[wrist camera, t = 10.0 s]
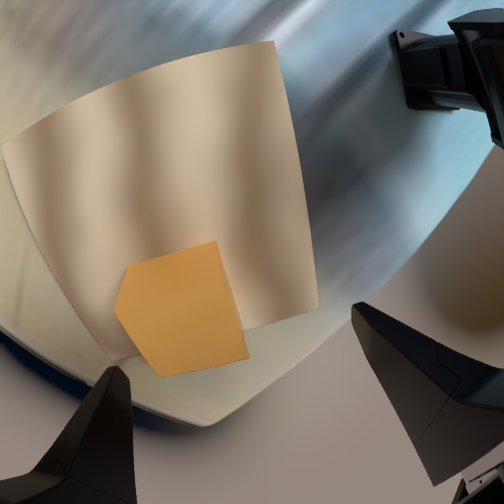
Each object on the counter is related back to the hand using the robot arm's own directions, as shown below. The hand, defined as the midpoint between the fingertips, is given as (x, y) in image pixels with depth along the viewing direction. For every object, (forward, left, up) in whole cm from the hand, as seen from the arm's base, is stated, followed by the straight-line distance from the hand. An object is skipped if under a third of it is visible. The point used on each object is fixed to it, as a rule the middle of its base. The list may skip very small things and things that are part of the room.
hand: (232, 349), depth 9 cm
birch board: (+3, -1, -11) cm, 11 cm away
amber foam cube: (+3, +3, -9) cm, 10 cm away
